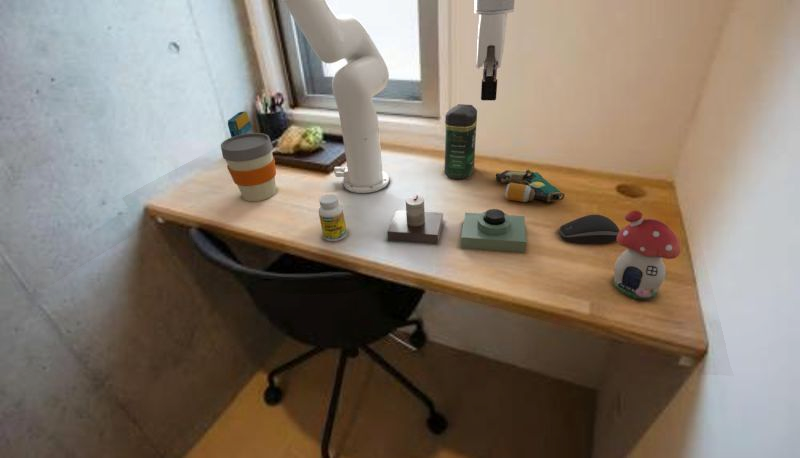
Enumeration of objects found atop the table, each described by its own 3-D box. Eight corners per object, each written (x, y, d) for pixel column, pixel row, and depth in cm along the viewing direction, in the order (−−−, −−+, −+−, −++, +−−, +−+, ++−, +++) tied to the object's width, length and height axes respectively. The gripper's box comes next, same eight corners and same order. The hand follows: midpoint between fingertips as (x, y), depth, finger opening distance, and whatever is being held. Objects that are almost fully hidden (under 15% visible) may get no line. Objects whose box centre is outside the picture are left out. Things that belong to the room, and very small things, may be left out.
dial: (423, 227, 90) (422, 204, 87) (405, 225, 91) (403, 203, 88) (426, 217, 93) (425, 195, 90) (408, 216, 94) (407, 194, 91)
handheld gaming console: (251, 156, 136) (239, 111, 127) (263, 156, 135) (251, 110, 127) (238, 169, 128) (224, 121, 119) (251, 169, 127) (238, 121, 119)
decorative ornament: (598, 281, 76) (617, 211, 68) (619, 266, 79) (639, 198, 71) (649, 309, 70) (677, 236, 62) (669, 292, 73) (698, 220, 64)
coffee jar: (469, 181, 112) (472, 114, 102) (441, 178, 115) (441, 112, 104) (477, 166, 120) (480, 102, 109) (450, 163, 122) (451, 100, 112)
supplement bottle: (345, 227, 97) (340, 190, 91) (348, 239, 92) (342, 202, 87) (322, 231, 96) (315, 194, 90) (324, 244, 91) (317, 206, 86)
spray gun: (493, 178, 114) (549, 180, 113) (500, 206, 100) (564, 207, 98) (495, 164, 112) (552, 165, 111) (502, 189, 98) (567, 191, 96)
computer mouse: (555, 227, 92) (557, 211, 89) (611, 225, 91) (616, 210, 89) (564, 245, 86) (567, 229, 84) (625, 244, 85) (630, 228, 83)
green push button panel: (460, 247, 87) (461, 230, 85) (464, 222, 95) (465, 205, 93) (524, 252, 85) (527, 234, 82) (523, 226, 93) (525, 208, 90)
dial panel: (388, 240, 91) (387, 231, 90) (396, 219, 98) (396, 210, 97) (437, 244, 89) (437, 235, 87) (442, 222, 96) (442, 212, 95)
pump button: (484, 225, 87) (484, 218, 86) (485, 215, 90) (485, 208, 89) (503, 226, 86) (504, 219, 85) (504, 216, 89) (504, 209, 88)
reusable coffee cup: (247, 209, 106) (231, 155, 98) (228, 193, 114) (212, 142, 106) (291, 192, 113) (279, 140, 104) (270, 178, 121) (257, 129, 113)
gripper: (476, 0, 86) (473, 89, 97) (472, 9, 74) (468, 110, 84) (513, -2, 85) (506, 89, 95) (515, 7, 73) (506, 110, 83)
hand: (488, 99), depth 90 cm, fingers closed
